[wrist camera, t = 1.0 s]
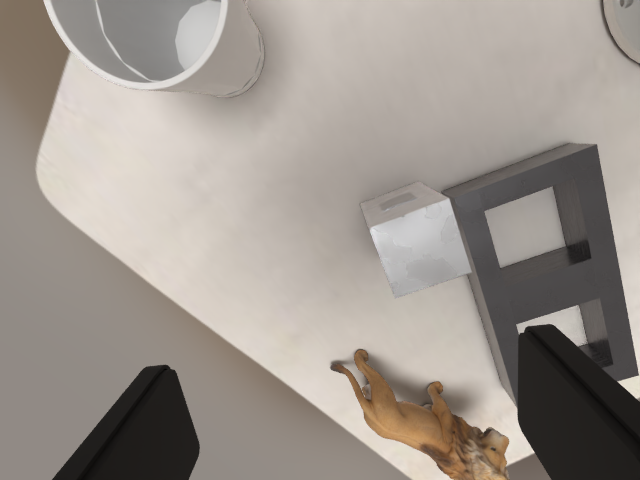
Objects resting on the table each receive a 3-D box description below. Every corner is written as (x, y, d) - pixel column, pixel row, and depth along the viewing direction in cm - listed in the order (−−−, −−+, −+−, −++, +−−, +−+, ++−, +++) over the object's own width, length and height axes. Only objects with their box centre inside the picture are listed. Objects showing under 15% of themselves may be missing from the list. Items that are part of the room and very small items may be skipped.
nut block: (417, 180, 28) (448, 197, 20) (436, 237, 29) (472, 273, 22) (359, 203, 29) (368, 227, 21) (379, 257, 30) (395, 299, 22)
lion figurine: (484, 382, 33) (537, 469, 25) (462, 425, 35) (504, 520, 26) (338, 340, 33) (339, 414, 24) (322, 385, 34) (317, 470, 26)
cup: (276, 109, 27) (234, 90, 15) (175, 108, 27) (59, 89, 16) (273, -11, 25) (221, -139, 13) (162, -11, 25) (16, -135, 13)
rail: (568, 143, 27) (596, 144, 24) (611, 353, 32) (638, 375, 29) (441, 191, 28) (453, 197, 25) (501, 385, 33) (517, 408, 30)
